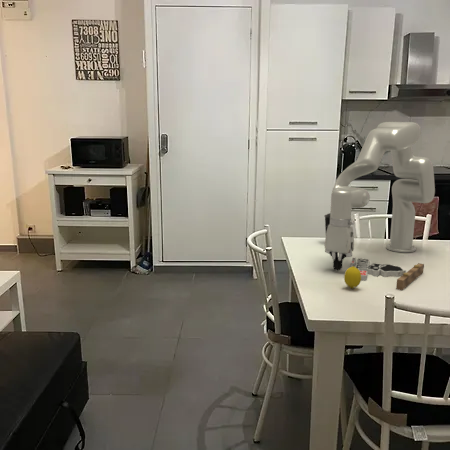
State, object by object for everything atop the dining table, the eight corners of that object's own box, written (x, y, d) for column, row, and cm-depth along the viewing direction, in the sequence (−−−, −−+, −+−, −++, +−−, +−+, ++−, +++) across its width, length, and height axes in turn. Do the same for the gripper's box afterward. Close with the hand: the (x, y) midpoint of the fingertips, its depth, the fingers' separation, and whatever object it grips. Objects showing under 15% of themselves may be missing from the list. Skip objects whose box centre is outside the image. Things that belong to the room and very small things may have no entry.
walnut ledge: (417, 271, 175) (418, 261, 174) (423, 273, 174) (424, 262, 173) (396, 289, 156) (397, 277, 156) (402, 290, 155) (403, 278, 154)
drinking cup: (341, 246, 211) (344, 203, 206) (324, 246, 211) (327, 203, 207) (337, 242, 218) (340, 200, 214) (321, 242, 218) (323, 200, 214)
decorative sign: (352, 257, 186) (405, 262, 180) (352, 263, 187) (404, 268, 180) (347, 273, 166) (406, 280, 160) (347, 280, 167) (406, 286, 160)
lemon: (357, 292, 153) (359, 269, 152) (341, 289, 156) (342, 267, 154) (362, 287, 158) (363, 265, 156) (346, 284, 161) (347, 262, 159)
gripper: (363, 223, 169) (360, 271, 173) (326, 218, 178) (324, 263, 182) (355, 227, 163) (351, 276, 167) (317, 221, 173) (315, 268, 177)
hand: (337, 269), depth 175 cm, fingers closed
